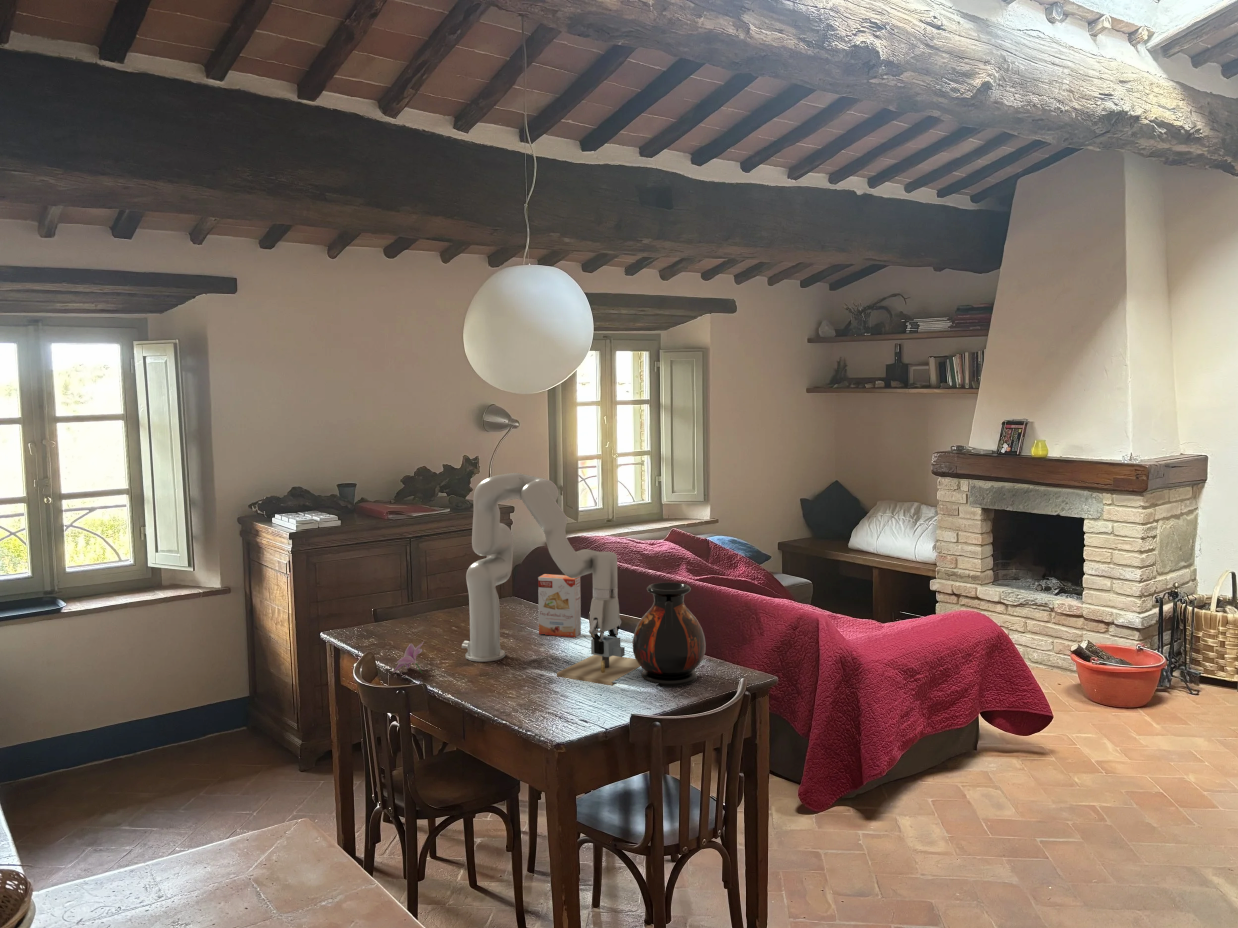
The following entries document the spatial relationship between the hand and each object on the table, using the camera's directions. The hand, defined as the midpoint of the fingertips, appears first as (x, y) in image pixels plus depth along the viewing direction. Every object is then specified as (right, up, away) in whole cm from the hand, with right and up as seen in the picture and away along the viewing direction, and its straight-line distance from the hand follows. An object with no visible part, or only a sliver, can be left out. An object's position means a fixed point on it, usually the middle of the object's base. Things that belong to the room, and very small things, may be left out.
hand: (605, 650), depth 283 cm
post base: (0, -6, 0) cm, 6 cm away
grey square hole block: (+1, -1, -1) cm, 2 cm away
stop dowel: (-1, -6, -5) cm, 7 cm away
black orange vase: (+19, -7, -9) cm, 22 cm away
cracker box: (-17, -3, +44) cm, 47 cm away
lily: (-60, -7, +1) cm, 60 cm away
